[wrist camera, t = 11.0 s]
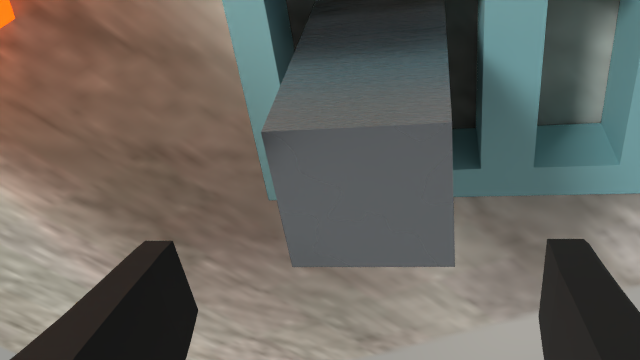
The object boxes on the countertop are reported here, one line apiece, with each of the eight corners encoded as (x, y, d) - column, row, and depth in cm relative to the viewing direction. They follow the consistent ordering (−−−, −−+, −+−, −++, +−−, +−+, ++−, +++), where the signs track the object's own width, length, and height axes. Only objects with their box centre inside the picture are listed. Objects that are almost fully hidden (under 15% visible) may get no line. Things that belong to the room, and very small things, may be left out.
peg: (443, -12, 18) (452, 122, 12) (446, 103, 21) (454, 266, 14) (316, 0, 19) (260, 131, 13) (332, 109, 22) (292, 267, 15)
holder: (791, -121, 15) (845, -100, 13) (714, 146, 20) (745, 191, 18) (236, -61, 18) (213, -36, 16) (282, 160, 23) (268, 200, 21)
